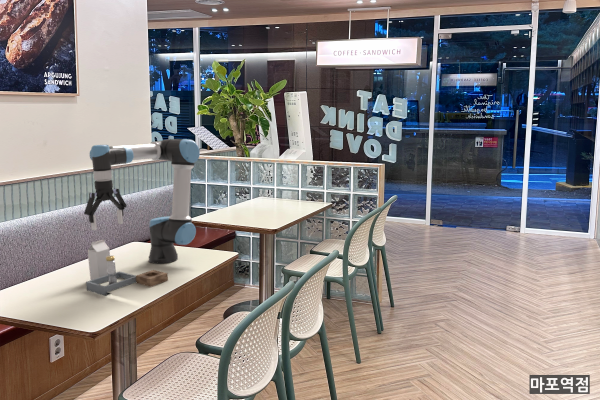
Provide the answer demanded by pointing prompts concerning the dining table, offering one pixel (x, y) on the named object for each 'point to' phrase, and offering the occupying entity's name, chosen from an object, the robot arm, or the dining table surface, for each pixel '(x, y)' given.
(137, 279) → the block
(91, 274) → the milk carton
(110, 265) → the small bottle
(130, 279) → the tray
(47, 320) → the dining table surface
